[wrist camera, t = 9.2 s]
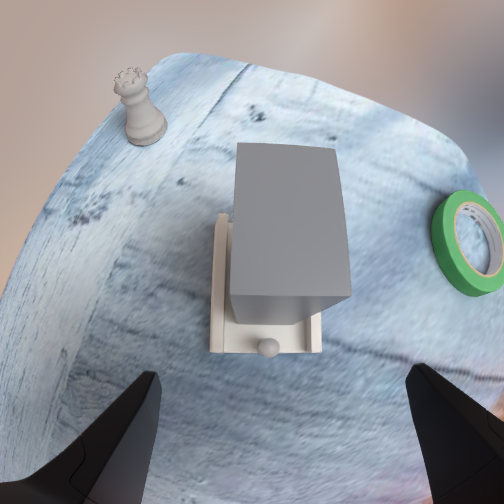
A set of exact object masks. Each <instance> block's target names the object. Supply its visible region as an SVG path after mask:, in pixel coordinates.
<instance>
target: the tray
mask: <svg viewBox="0 0 504 504" xmlns="http://www.w3.org/2000/svg"><path fill="white" fill-rule="evenodd" d="M232 226H233V222H228V213H218V222H215V235H214V252H213V271H212V293H211V320H210V352H212V353H260V354H261V355H263V356H266V357H274V356H276V355H277V354H278V353H303V352H309V353H315V352H322V349H321V312H319V313H317V314H315V315H313V316H311V317H309V318H307V319H304V320H302V321H300V322H298V323H296V324H294V325H242V324H237V322H236V318H235V314H234V310H233V306H232V302H231V299H230V270H231V247H232Z"/></svg>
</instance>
